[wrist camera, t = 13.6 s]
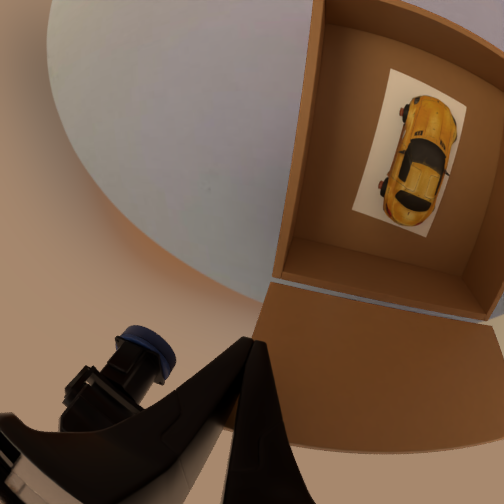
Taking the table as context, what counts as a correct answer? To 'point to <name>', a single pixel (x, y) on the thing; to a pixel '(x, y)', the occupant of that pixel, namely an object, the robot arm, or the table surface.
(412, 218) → the toy car
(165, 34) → the table surface
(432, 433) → the flap
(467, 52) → the carton
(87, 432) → the robot arm
